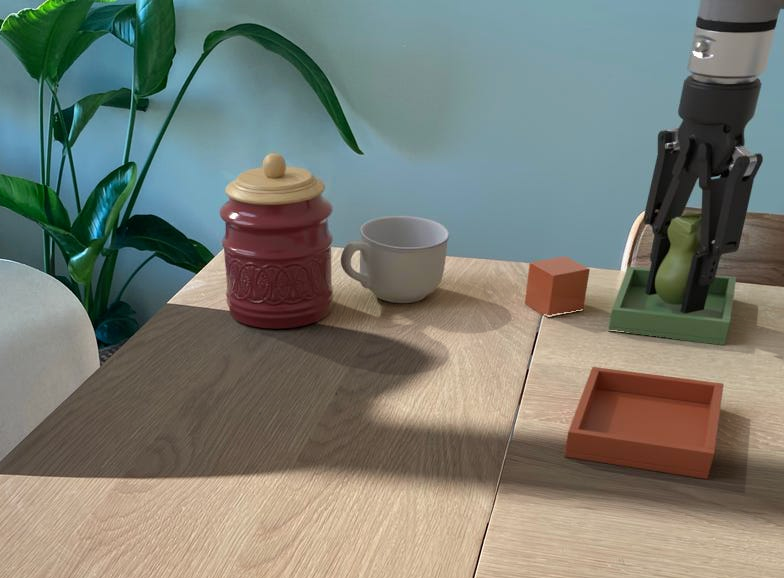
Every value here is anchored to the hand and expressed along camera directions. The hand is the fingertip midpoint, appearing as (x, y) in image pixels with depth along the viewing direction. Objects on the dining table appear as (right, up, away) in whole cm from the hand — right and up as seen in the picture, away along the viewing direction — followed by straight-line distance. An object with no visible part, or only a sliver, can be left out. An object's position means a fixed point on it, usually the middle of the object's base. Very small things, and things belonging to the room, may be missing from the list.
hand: (674, 300), depth 114 cm
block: (-13, 0, +4) cm, 14 cm away
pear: (0, 0, 0) cm, 0 cm away
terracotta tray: (-11, -20, -21) cm, 30 cm away
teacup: (-33, +3, +8) cm, 34 cm away
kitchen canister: (-46, 0, +5) cm, 47 cm away
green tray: (0, -1, +1) cm, 2 cm away
